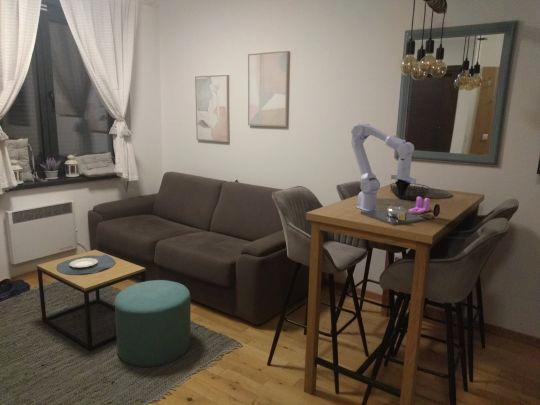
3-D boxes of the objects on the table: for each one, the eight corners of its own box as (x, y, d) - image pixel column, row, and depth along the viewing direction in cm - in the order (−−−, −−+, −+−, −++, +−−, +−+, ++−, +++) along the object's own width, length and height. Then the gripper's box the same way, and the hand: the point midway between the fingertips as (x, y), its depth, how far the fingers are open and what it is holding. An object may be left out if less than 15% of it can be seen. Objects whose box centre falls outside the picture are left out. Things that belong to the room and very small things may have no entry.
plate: (360, 213, 203) (360, 211, 203) (391, 210, 212) (391, 207, 211) (392, 225, 183) (393, 222, 183) (425, 220, 192) (425, 218, 192)
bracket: (418, 208, 217) (419, 196, 216) (428, 210, 213) (430, 197, 212) (406, 212, 208) (407, 199, 207) (416, 214, 205) (418, 201, 203)
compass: (418, 216, 201) (420, 201, 199) (435, 217, 201) (437, 202, 199) (423, 220, 193) (425, 205, 192) (440, 221, 193) (442, 206, 191)
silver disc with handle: (385, 212, 201) (385, 204, 200) (403, 213, 200) (404, 205, 199) (391, 220, 186) (392, 212, 185) (411, 221, 186) (412, 213, 185)
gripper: (387, 166, 201) (384, 193, 204) (409, 170, 188) (406, 199, 191) (398, 165, 204) (395, 192, 207) (420, 169, 191) (417, 198, 194)
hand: (401, 195), depth 199 cm, fingers closed
